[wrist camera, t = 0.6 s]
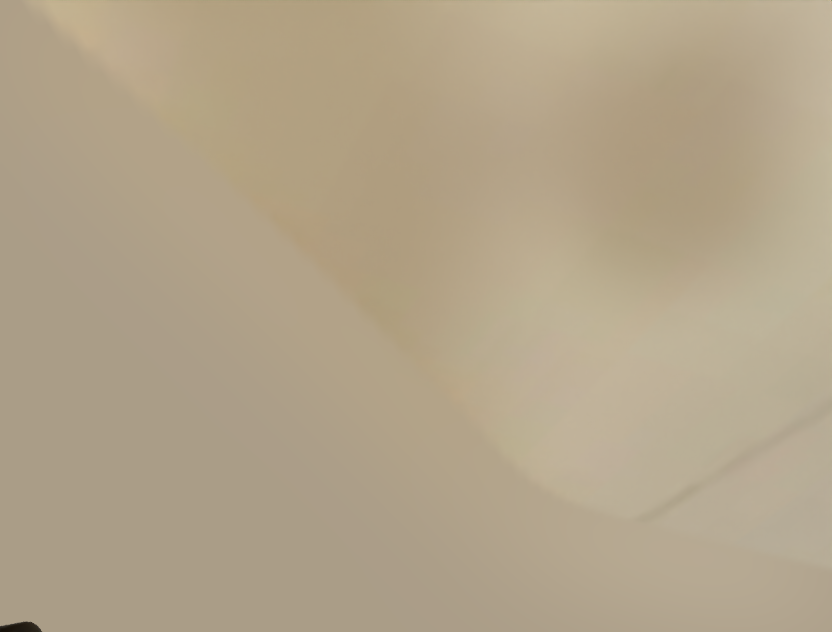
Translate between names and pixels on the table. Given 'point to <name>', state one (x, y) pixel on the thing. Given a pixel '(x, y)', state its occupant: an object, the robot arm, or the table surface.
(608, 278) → the table surface
